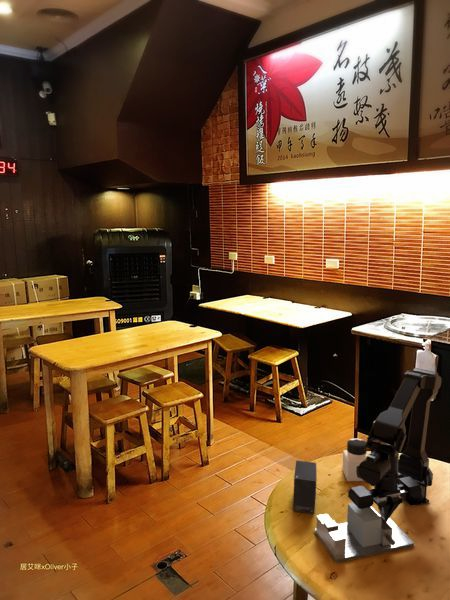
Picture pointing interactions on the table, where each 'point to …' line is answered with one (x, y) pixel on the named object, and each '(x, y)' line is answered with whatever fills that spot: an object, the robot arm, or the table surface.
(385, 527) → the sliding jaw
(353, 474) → the medicine bottle
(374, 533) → the block
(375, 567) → the table surface
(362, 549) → the vise
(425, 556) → the table surface
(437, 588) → the table surface
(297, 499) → the small box
